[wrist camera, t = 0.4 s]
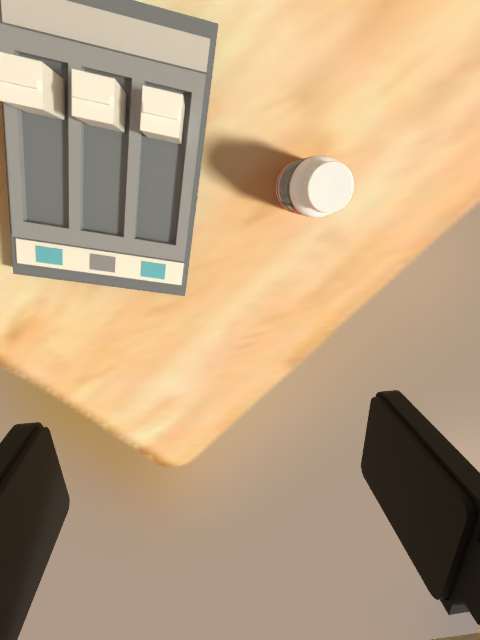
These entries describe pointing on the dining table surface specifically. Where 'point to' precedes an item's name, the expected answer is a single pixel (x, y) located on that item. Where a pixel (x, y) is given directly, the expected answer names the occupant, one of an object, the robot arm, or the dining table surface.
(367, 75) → the dining table surface
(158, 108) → the tab
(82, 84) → the tab
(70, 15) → the switch bank
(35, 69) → the tab
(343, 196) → the pill bottle
